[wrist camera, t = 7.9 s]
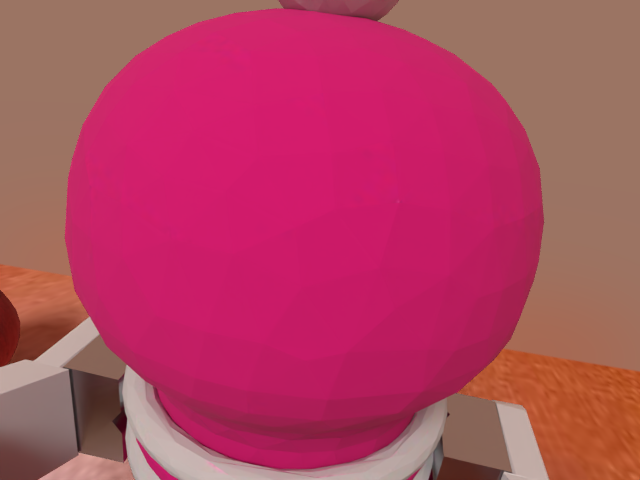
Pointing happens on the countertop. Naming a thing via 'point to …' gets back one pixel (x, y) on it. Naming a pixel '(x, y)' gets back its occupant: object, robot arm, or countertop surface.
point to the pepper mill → (300, 242)
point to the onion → (8, 329)
